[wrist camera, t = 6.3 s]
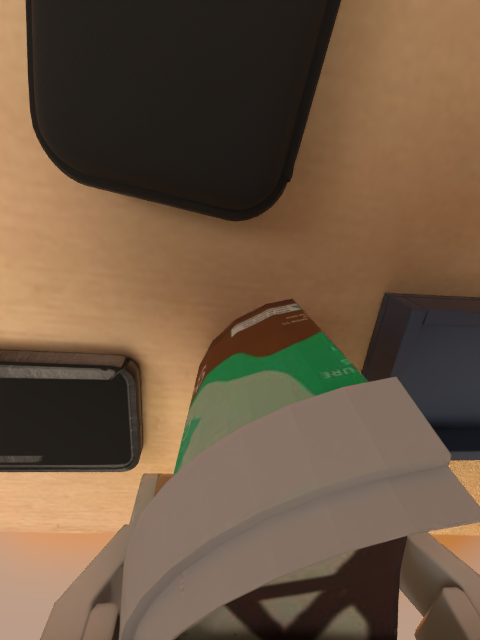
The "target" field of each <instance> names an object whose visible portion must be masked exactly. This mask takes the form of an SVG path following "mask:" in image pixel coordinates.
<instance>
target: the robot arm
mask: <svg viewBox="0 0 480 640" xmlns="http://www.w3.org/2000/svg"><path fill="white" fill-rule="evenodd" d="M173 475H174V474H144V475H143V477H142V479H141V482H140V486H139V490H138V494H137V497H136V501H135V505H134V509H133V513H132V516H131V520H130V524H129V525H124V526H123V527H122V528H121V529H120V530H119V531H118V533H117V534H116V535H115V536H114V537H113V538H112V540H111V541H110V542H109V543H108V544H107V545H106V546H105V547H104V548H103V549H102V551H101V552H100V553H99V554H98V555H97V556H96V557H95V558H94V560H93V561H92V562H91V563H90V564H89V565H88V566H87V568H86V569H85V570H84V571H83V572H82V573H81V574H80V576H79V577H78V578H77V579H76V580H75V581H74V582H73V583H72V584H71V585H70V587H69V588H68V589H67V590H66V591H65V592H64V593H63V595H62V596H61V597H60V598H59V599H58V600H57V601H56V602H55V603H54V606H53V608H52V611H51V613H50V616H49V619H48V621H47V624H46V626H45V628H44V631H43V633H42V636H41V638H40V640H119V630H120V615H121V599H122V583H123V568H124V560H125V556H126V551H127V547H128V543H129V538H130V536H131V534H132V532H133V530H134V528H135V526H136V524H137V522H138V520H139V518H140V516H141V514H142V513H143V511H144V509H145V508H146V507H147V506H148V504H149V503H150V502H151V501H152V499H153V498H154V497H155V496H156V494H157V493H158V492H159V491H160V490H161V488H162V487H163V486H164V485H165V483H166V482H167V481H168V480H169V479H171V478H172V477H173ZM399 589H400V590H401V591H402V592H403V593H404V595H405V596H406V597H407V598H408V599H409V600H410V602H411V603H412V604H413V605H414V606H415V607H416V609H417V610H418V611H419V612H420V613H421V614H422V616H423V617H424V618H423V620H422V621H421V623H420V624H419V626H418V627H417V629H416V632H415V637H416V640H480V575H479V574H478V573H476V572H475V571H474V570H473V569H472V568H470V567H469V566H468V565H467V564H465V563H464V562H463V561H462V560H460V559H459V558H458V557H457V556H455V554H453V553H452V552H451V551H450V550H448V549H447V548H446V547H445V546H444V545H442V544H441V543H440V542H438V541H437V540H436V539H435V538H434V537H433V536H431V535H430V534H429V533H428V532H421V533H415V534H412V535H408V537H407V542H406V546H405V551H404V556H403V560H402V565H401V571H400V585H399Z"/></svg>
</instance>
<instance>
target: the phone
mask: <svg viewBox="0 0 480 640" xmlns="http://www.w3.org/2000/svg"><path fill="white" fill-rule="evenodd" d="M142 447H143V430H142V406H141V381H140V371H139V368H138V366H137V364H136V363H135V362H134V361H132V360H131V359H129V358H127V357H125V356H120V355H104V354H81V353H58V352H35V351H12V350H0V472H124V471H129V470H131V469H133V468H134V467H136V465H137V464H138V462H139V459H140V455H141V451H142Z"/></svg>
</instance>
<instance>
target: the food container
mask: <svg viewBox="0 0 480 640" xmlns="http://www.w3.org/2000/svg"><path fill="white" fill-rule="evenodd" d="M450 459H451V454H450V452H449V451H448V449H447V448H446V447H445V445H444V444H443V442H442V441H441V439H440V438H439V437H438V435H437V434H436V432H435V431H434V430H433V428H432V427H431V425H430V424H429V422H428V421H427V420H426V418H425V417H424V415H423V414H422V412H421V411H420V410H419V408H418V407H417V405H416V404H415V403H414V401H413V400H412V398H411V397H410V395H409V394H408V393H407V391H406V390H405V388H404V387H403V385H402V384H401V383H400V381H399V380H398V378H397V377H392V378H387V379H382V380H376V381H371V382H369V381H368V380H367V379H366V378H365V377H364V376H363V375H362V374H361V373H360V372H359V371H358V370H357V368H356V367H355V366H354V365H353V364H352V363H351V362H350V361H349V360H348V359H347V358H346V356H345V355H344V354H343V353H342V352H341V351H340V350H339V349H338V348H337V347H336V346H335V345H334V343H333V342H332V341H331V340H330V339H329V338H328V337H327V336H326V335H325V334H324V333H323V332H322V330H321V329H320V328H319V327H318V326H317V325H316V324H315V323H314V322H313V321H312V320H311V318H310V317H309V316H308V315H307V314H306V313H305V312H304V311H303V310H302V309H301V308H300V307H299V305H298V304H297V303H296V302H295V301H294V300H293V299H288V300H283V301H279V302H274V303H269V304H266V305H264V306H262V307H260V308H258V309H256V310H254V311H251V312H249V313H247V314H245V315H243V316H241V317H239V318H237V319H236V320H234V321H233V322H232V323H231V324H230V325H229V326H228V327H227V328H226V329H225V330H224V331H223V332H222V333H221V334H220V335H219V336H217V337H216V338H215V339H214V340H213V341H212V343H211V345H210V347H209V349H208V351H207V353H206V355H205V356H204V358H203V360H202V362H201V364H200V366H199V370H198V375H197V379H196V383H195V387H194V391H193V395H192V400H191V404H190V408H189V412H188V416H187V420H186V425H185V429H184V433H183V437H182V441H181V445H180V450H179V454H178V458H177V462H176V466H175V470H174V475H173V477H172V478H171V479H169V480H168V481H167V482H166V483H165V485H164V486H163V487H162V488H161V490H160V491H159V492H158V493H157V494H156V496H155V497H154V498H153V499H152V501H151V502H150V503H149V504H148V506H147V507H146V508H145V509H144V511H143V513H142V514H141V516H140V518H139V520H138V522H137V524H136V526H135V528H134V530H133V532H132V534H131V536H130V538H129V543H128V547H127V551H126V556H125V560H124V568H123V583H122V599H121V615H120V630H119V640H397V625H398V598H399V585H400V571H401V565H402V560H403V556H404V551H405V546H406V542H407V537H408V535H412V534H415V533H421V532H427V531H432V530H438V529H444V528H449V527H455V526H461V525H467V524H472V523H478V522H480V507H479V505H478V504H477V503H476V501H475V500H474V499H473V498H472V496H471V495H470V494H469V493H468V491H467V490H466V489H465V487H464V486H463V485H462V484H461V482H460V481H459V480H458V479H457V477H456V476H455V475H454V473H453V472H452V471H451V470H450V468H449V467H448V464H449V462H450Z"/></svg>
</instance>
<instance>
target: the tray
mask: <svg viewBox="0 0 480 640" xmlns="http://www.w3.org/2000/svg"><path fill="white" fill-rule="evenodd" d="M362 375H363V376H364V377H365V378H366V379H367V380H368V381H369V382H371V381H376V380H382V379H387V378H392V377H397V378H398V380H399V381H400V383H401V384H402V385H403V387H404V388H405V390H406V391H407V393H408V394H409V395H410V397H411V398H412V400H413V401H414V403H415V404H416V405H417V407H418V408H419V410H420V411H421V412H422V414H423V415H424V417H425V418H426V420H427V421H428V422H429V424H430V425H431V427H432V428H433V430H434V431H435V432H436V434H437V435H438V437H439V438H440V439H441V441H442V442H443V444H444V445H445V447H446V448H447V449H448V451H449V452H450V454H451V459H450V460H480V298H477V297H456V296H436V295H415V294H395V293H385V294H384V298H383V301H382V305H381V308H380V312H379V315H378V318H377V322H376V325H375V329H374V332H373V336H372V339H371V343H370V346H369V350H368V353H367V357H366V360H365V364H364V367H363V371H362Z"/></svg>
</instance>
